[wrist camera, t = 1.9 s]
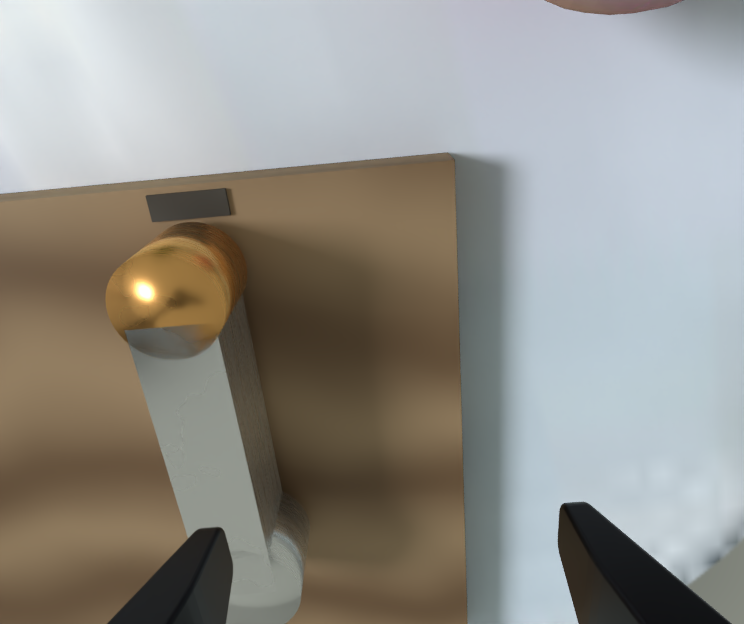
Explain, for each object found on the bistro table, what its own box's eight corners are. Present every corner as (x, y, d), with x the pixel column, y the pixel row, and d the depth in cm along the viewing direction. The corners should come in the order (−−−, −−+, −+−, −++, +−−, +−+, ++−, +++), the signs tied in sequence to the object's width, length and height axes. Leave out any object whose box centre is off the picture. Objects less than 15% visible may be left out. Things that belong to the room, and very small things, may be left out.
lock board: (463, 623, 26) (468, 656, 25) (17, 650, 27) (-3, 684, 26) (447, 152, 17) (455, 160, 16) (-218, 214, 18) (-271, 227, 17)
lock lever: (316, 560, 22) (308, 630, 19) (217, 566, 22) (195, 637, 19) (254, 216, 16) (230, 246, 13) (121, 228, 16) (70, 260, 14)
